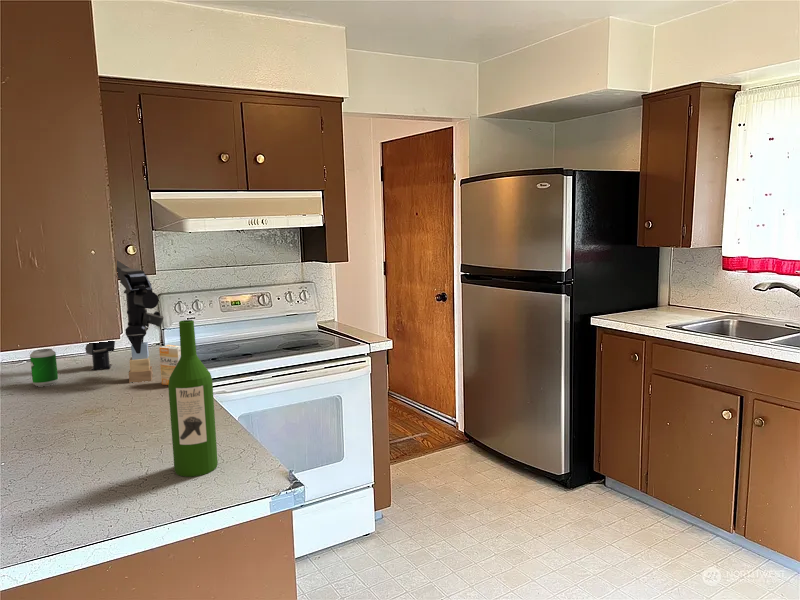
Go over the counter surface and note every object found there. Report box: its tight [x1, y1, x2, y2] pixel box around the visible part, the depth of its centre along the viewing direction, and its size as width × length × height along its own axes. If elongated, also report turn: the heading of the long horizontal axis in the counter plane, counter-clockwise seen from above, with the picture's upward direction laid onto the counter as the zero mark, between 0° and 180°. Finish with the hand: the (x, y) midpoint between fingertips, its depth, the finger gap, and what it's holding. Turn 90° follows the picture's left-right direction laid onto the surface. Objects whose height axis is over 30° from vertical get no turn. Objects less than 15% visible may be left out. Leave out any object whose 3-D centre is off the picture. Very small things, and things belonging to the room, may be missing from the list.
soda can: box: [29, 348, 59, 388], centre depth 201 cm, size 8×8×12 cm
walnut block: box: [128, 365, 154, 384], centre depth 205 cm, size 7×7×4 cm
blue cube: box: [130, 341, 150, 360], centre depth 205 cm, size 5×5×5 cm
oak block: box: [129, 356, 151, 372], centre depth 205 cm, size 6×6×4 cm
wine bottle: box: [167, 319, 218, 478], centre depth 125 cm, size 9×9×32 cm
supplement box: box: [158, 344, 181, 386], centre depth 198 cm, size 8×5×13 cm, turn 68°
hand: (139, 350), depth 204 cm, fingers open, 9 cm apart
